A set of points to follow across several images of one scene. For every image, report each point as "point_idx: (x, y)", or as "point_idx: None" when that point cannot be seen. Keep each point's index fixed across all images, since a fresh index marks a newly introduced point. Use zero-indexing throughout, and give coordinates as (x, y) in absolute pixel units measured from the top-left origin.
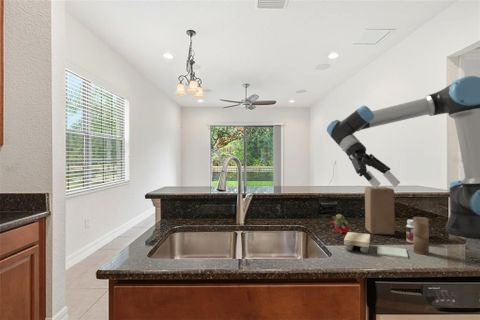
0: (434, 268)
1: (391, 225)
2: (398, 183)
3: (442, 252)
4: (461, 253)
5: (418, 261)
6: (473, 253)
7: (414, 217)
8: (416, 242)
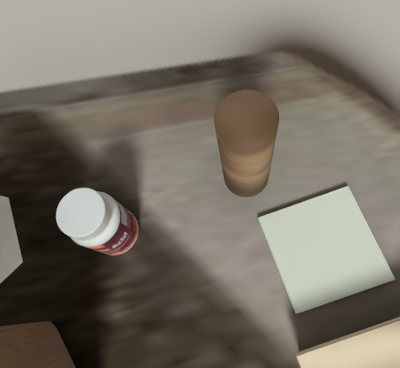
0: (378, 111)
1: (37, 335)
2: (7, 212)
3: (192, 132)
4: (163, 95)
5: (350, 157)
6: (139, 74)
7: (251, 140)
8: (269, 170)
